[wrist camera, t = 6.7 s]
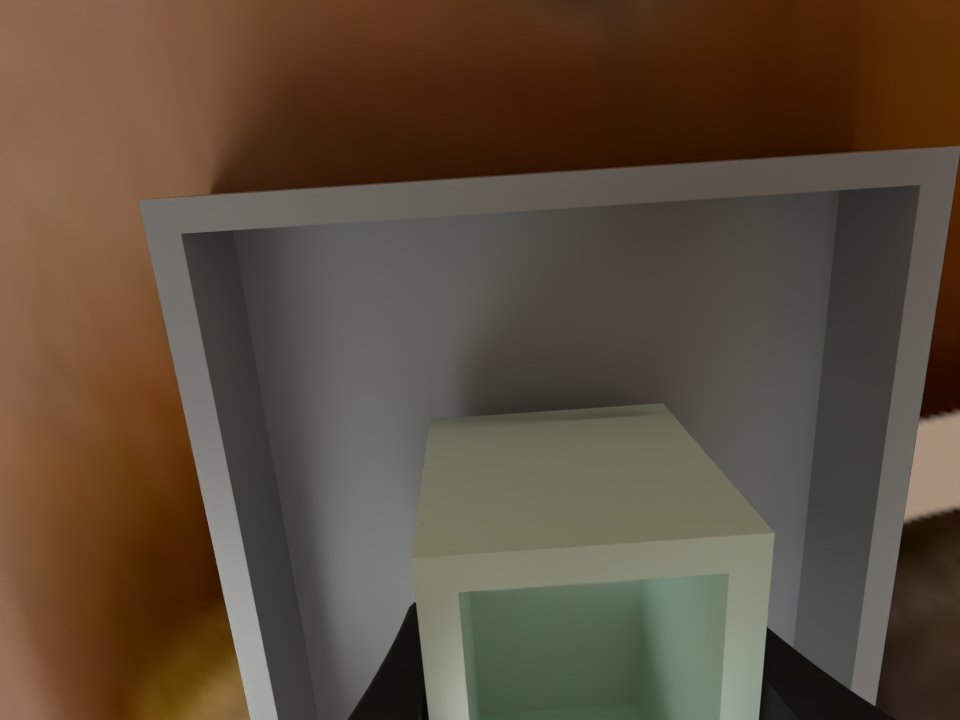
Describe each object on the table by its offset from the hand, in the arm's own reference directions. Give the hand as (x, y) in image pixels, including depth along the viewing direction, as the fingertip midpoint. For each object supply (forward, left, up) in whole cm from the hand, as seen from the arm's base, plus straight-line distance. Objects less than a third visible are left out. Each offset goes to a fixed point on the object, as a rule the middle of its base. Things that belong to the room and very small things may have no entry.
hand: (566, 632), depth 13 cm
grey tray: (0, 0, -3) cm, 3 cm away
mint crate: (0, 0, -2) cm, 2 cm away
